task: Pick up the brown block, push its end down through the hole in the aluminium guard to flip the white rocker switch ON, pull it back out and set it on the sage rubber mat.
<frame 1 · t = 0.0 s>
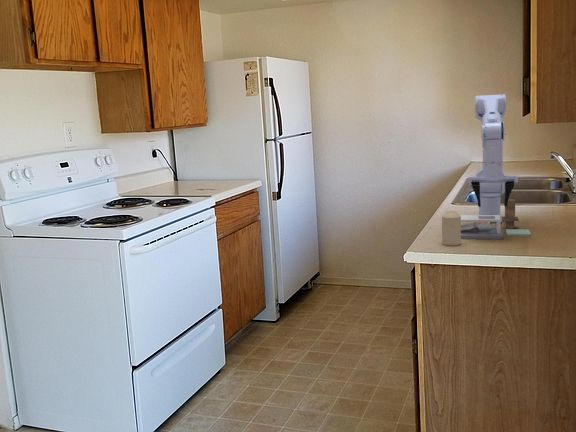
hand: (492, 206, 187), 10 cm above the worktop, tool pointing down, fingers open, 7 cm apart
breaker housing: (475, 233, 196), on the worktop
rocker switch: (475, 224, 195), point 3 cm above the worktop, hinge at 12.0°
brown block: (509, 228, 201), on the worktop
candle: (451, 244, 185), on the worktop
mat: (517, 233, 193), on the worktop
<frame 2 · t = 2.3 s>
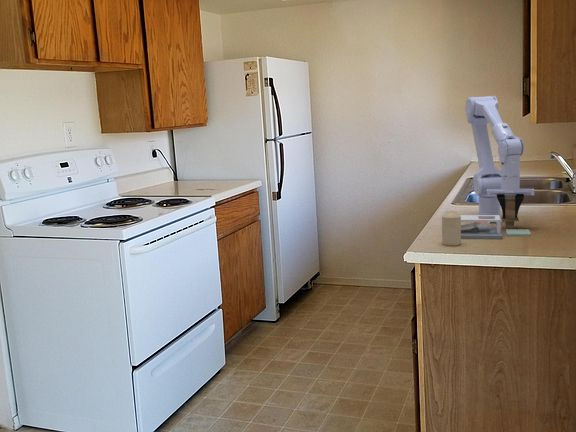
hand: (509, 217, 200), 4 cm above the worktop, tool pointing down, fingers closed on brown block, 3 cm apart
brown block: (509, 228, 201), on the worktop, touching gripper
everything else where it was.
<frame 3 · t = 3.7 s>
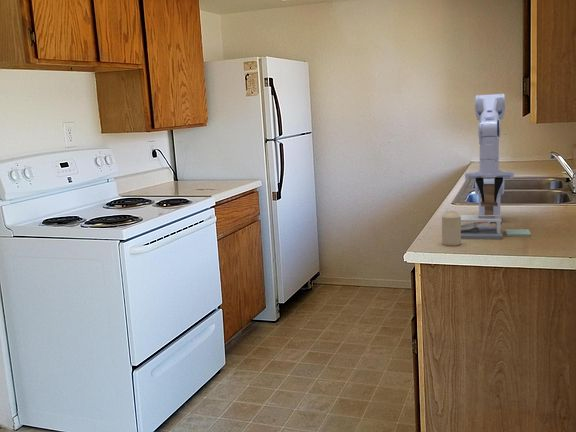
hand: (488, 201, 194), 10 cm above the worktop, tool pointing down, fingers closed on brown block, 3 cm apart
brown block: (488, 214, 194), point 6 cm above the worktop, touching gripper
everything else where it was.
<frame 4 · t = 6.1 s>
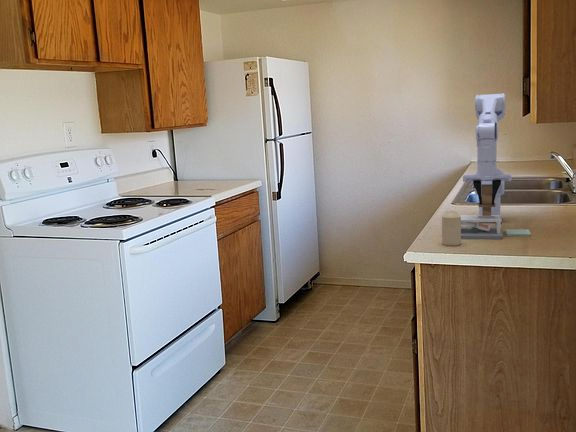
hand: (486, 203, 193), 10 cm above the worktop, tool pointing down, fingers closed on brown block, 3 cm apart
rocker switch: (475, 224, 195), point 3 cm above the worktop, hinge at -16.4°
brown block: (486, 214, 194), point 6 cm above the worktop, touching gripper
everything else where it was.
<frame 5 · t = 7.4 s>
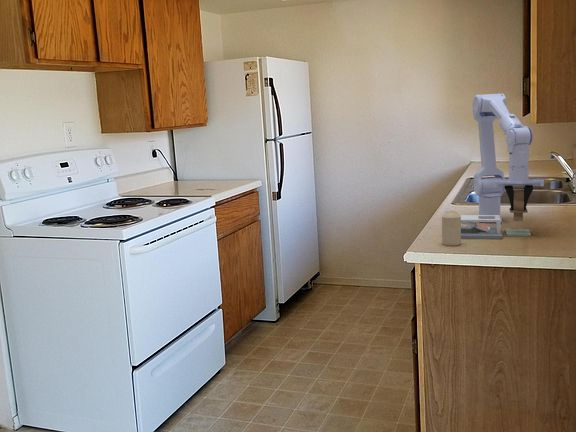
hand: (518, 209, 192), 8 cm above the worktop, tool pointing down, fingers closed on brown block, 3 cm apart
rocker switch: (475, 224, 195), point 3 cm above the worktop, hinge at -19.7°, touching breaker housing
brown block: (518, 220, 192), point 4 cm above the worktop, touching gripper
everything else where it was.
when the fingers open (6 cm above the worktop, at t = 8.1 s): brown block drops 1 cm, resting on mat.
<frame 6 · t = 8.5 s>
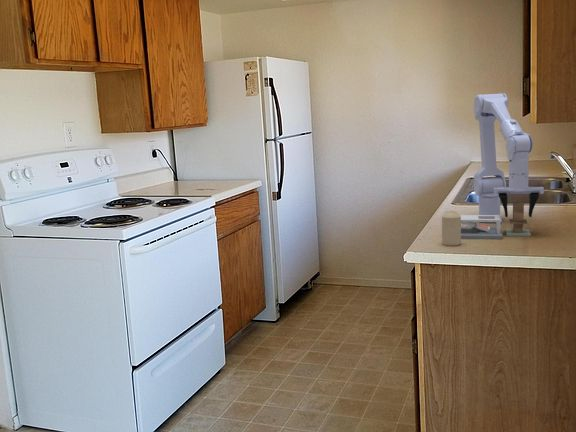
hand: (518, 216, 192), 6 cm above the worktop, tool pointing down, fingers open, 6 cm apart
rocker switch: (475, 224, 195), point 3 cm above the worktop, hinge at -18.9°
brown block: (518, 231, 193), point 1 cm above the worktop, touching mat
everything else where it was.
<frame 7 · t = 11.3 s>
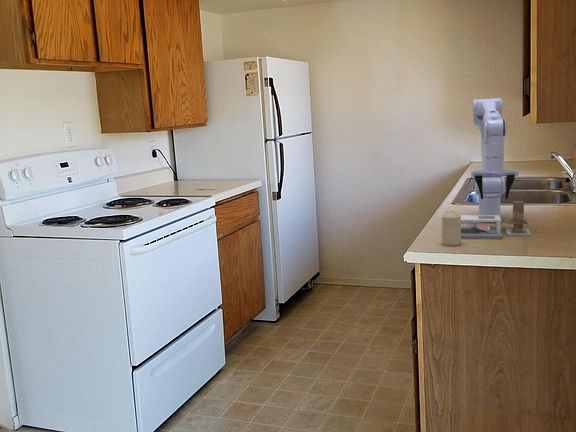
hand: (494, 198, 199), 10 cm above the worktop, tool pointing down, fingers open, 7 cm apart
rocker switch: (475, 224, 195), point 3 cm above the worktop, hinge at -18.4°
everything else where it was.
at the end: rocker switch at -18° (first picture: +12°); brown block 0.0 cm off-centre on the mat, point 0.6 cm above the mat's base; the gripper is holding nothing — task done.
